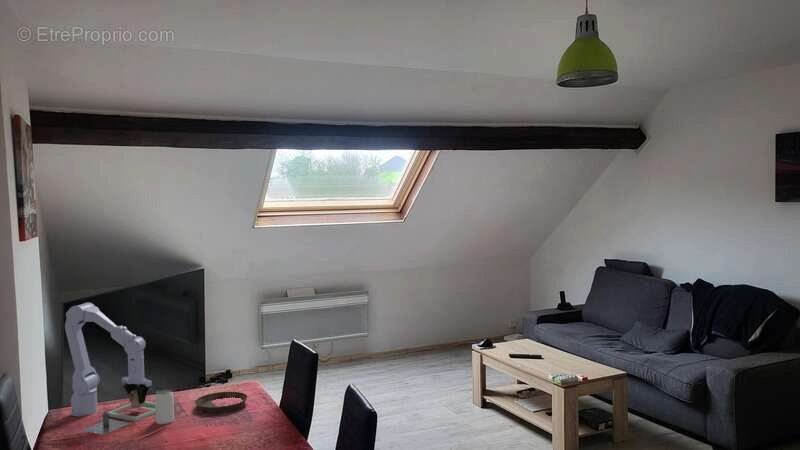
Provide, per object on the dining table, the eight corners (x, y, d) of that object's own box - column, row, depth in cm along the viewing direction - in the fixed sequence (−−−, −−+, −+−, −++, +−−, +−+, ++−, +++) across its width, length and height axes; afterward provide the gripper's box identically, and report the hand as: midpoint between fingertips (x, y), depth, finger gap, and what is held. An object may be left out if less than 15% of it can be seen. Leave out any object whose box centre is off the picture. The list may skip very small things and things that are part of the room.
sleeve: (126, 408, 234) (125, 393, 234) (138, 403, 240) (137, 389, 239) (134, 409, 232) (133, 394, 232) (146, 405, 238) (145, 390, 237)
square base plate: (80, 431, 219) (80, 415, 218) (109, 420, 229) (108, 404, 229) (103, 436, 213) (102, 419, 213) (131, 425, 224) (130, 409, 224)
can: (167, 426, 222) (166, 394, 222) (152, 425, 224) (151, 393, 223) (177, 420, 229) (176, 389, 228) (162, 419, 230) (161, 388, 230)
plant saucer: (209, 397, 256) (208, 390, 256) (255, 398, 253) (255, 391, 253) (185, 414, 235) (185, 406, 235) (235, 416, 232) (235, 407, 232)
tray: (106, 417, 233) (106, 412, 233) (140, 404, 247) (139, 400, 247) (135, 423, 226) (135, 418, 226) (168, 409, 241) (168, 405, 240)
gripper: (114, 369, 236) (116, 403, 236) (141, 373, 229) (142, 407, 230) (129, 364, 242) (131, 397, 242) (155, 368, 236) (156, 402, 236)
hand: (137, 402), depth 237 cm, fingers closed on sleeve, 4 cm apart
